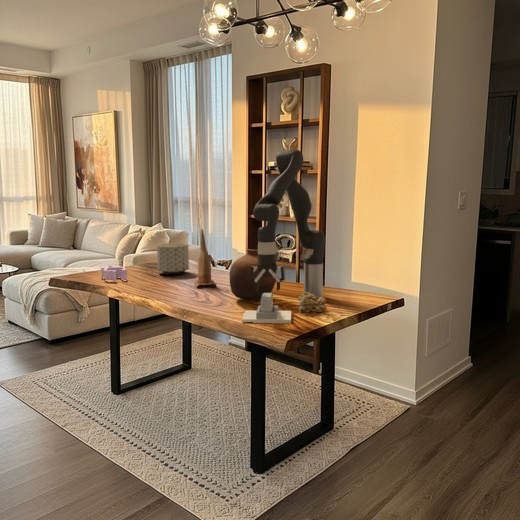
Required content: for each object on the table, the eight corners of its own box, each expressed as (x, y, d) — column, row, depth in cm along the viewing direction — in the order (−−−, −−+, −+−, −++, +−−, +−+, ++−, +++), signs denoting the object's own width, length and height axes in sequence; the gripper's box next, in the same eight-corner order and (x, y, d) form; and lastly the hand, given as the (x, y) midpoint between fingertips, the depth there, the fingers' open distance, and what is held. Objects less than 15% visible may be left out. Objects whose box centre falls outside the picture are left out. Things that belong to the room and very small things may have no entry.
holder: (245, 313, 223) (245, 304, 222) (291, 314, 221) (291, 305, 221) (242, 322, 209) (241, 313, 208) (290, 323, 208) (290, 313, 207)
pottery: (225, 305, 238) (224, 252, 234) (234, 293, 261) (234, 245, 257) (274, 306, 235) (273, 252, 231) (279, 294, 258) (279, 245, 253)
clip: (96, 278, 304) (95, 267, 303) (116, 275, 312) (115, 264, 311) (110, 283, 289) (109, 271, 288) (131, 280, 297) (130, 269, 296)
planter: (190, 270, 327) (189, 242, 324) (188, 276, 308) (187, 246, 305) (160, 271, 325) (159, 243, 322) (156, 277, 307) (154, 247, 304)
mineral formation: (297, 314, 221) (293, 303, 235) (327, 318, 222) (321, 307, 236) (300, 297, 219) (296, 287, 233) (331, 301, 220) (324, 291, 235)
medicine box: (271, 317, 211) (271, 297, 210) (261, 317, 211) (260, 296, 210) (272, 312, 219) (272, 292, 217) (262, 312, 219) (262, 292, 218)
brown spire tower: (213, 283, 287) (211, 227, 283) (217, 287, 276) (215, 228, 272) (193, 285, 285) (191, 228, 280) (196, 289, 273) (194, 229, 269)
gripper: (248, 253, 207) (249, 292, 210) (284, 253, 206) (284, 292, 209) (250, 251, 215) (251, 288, 218) (284, 250, 214) (284, 288, 217)
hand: (267, 290), depth 213 cm, fingers open, 8 cm apart
